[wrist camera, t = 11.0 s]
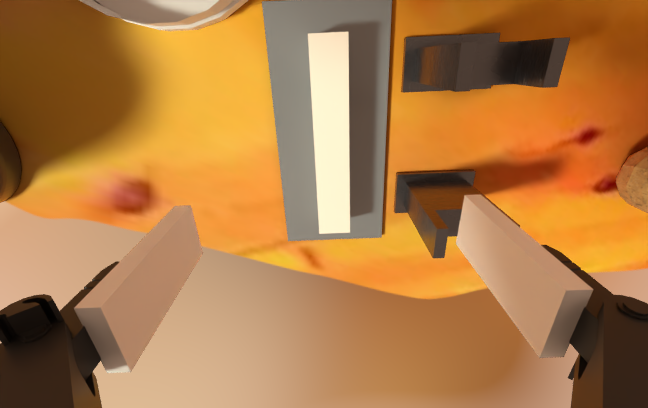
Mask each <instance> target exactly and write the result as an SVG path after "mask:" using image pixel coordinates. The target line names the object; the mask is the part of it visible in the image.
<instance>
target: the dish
mask: <svg viewBox="0 0 648 408" xmlns="http://www.w3.org/2000/svg"><path fill="white" fill-rule="evenodd" d="M79 1H81V2H83V3H85V4H87V5H89V6H91V7H92V8H94V9H96V10H98V11H100V12H102V13H104V14H106V15H108V16H112V17H116V18H120V19H123V20H125V21H127V22H130V23H134V24H138V25H142V26H146V27H150V28H154V29H158V30H165V31H182V30H198V29H201V28H204V27H206V26H209V25H211V24H214V23H217V22H219V21H222V20H224V19H226V18H227V17H229V16H230V15H231V14H232V13H234V12H235V11H236V10H237V9H238V8H240V7H241V6H242V5H243V4H245V3H246V2H247V1H248V0H79Z"/></svg>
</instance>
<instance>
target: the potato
mask: <svg viewBox="0 0 648 408" xmlns="http://www.w3.org/2000/svg"><path fill="white" fill-rule="evenodd" d="M616 185H617V188H618V191H619V194H620V196H621V197H622V198H623V199H624V200H625V201H626V202H627V203H628V204H630V205H632V206H634V207H636V208H638V209H640V210H642V211H644V212H646V213H648V147H646V148H644V149H642V150H640V151H638V152H636V153H634V154H632V155H630V156H629V157H628V159H627V160H626V162H625V163H624V164H623V166H622V167H621V169H620V171H619V173H618V175H617V177H616Z"/></svg>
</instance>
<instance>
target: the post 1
mask: <svg viewBox="0 0 648 408" xmlns="http://www.w3.org/2000/svg"><path fill="white" fill-rule="evenodd" d="M499 38H500V33H485V34H465V35H445V36H424V37H406V38H405V39H404V56H403V72H402V88H401V92H423V91H444V90H451V91H455V92H457V91H470V89H488V88H491V85H502V84H518V85H526V86H534V87H542V88H544V87H557V85H558V82H559V78H560V74H561V70H562V67H563V63H564V59H565V56H566V52H567V48H568V44H569V41H570V38H552V39H541V40H531V41H518V42H499Z"/></svg>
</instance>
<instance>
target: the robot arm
mask: <svg viewBox="0 0 648 408" xmlns="http://www.w3.org/2000/svg"><path fill="white" fill-rule="evenodd" d="M20 179H21V163H20V158H19V154H18V151H17V149H16V146H15V144H14V142H13V140H12V138H11V137H10V135H9V133H8V132H7V130H6V129H5V127H4V126H3V125H2V123H1V122H0V203H1V202H4V201H5V200H7V199H8V198H10V197H11V196H12V195H13V194H14V192H15V191H16V189H17V188H18V185H19V183H20ZM456 245H457V246H458V247H459V249H460V250H461V251H462V253H463V254H464V255H465V257H466V258H467V260H468V261H469V262H470V264H471V265H472V266H473V268H474V269H475V270H476V272H477V273H478V275H479V276H480V277H481V279H482V280H483V281H484V283H485V284H486V285H487V287H488V288H489V290H490V291H491V292H492V293H493V295H494V296H495V298H496V299H497V300H498V302H499V303H500V304H501V306H502V307H503V308H504V310H505V311H506V313H507V314H508V315H509V317H510V318H511V319H512V321H513V322H514V323H515V325H516V326H517V328H518V329H519V330H520V332H521V333H522V334H523V336H524V337H525V338H526V340H527V341H528V343H529V344H530V345H531V347H532V348H533V349H534V351H535V352H536V353H537V355H538V356H539V357H540V358H546V357H547V358H548V357H564V355H565V353H566V351H567V348H568V346H569V344H571V345H572V346H573V347H574V348H575V349H576V350H577V351H578V353H579V355H578V358H577V359H576V362H575V364H574V366H573V368H572V370H571V372H570V374H569V376H568V378H569V379H571V380H573V378H574V382H573V392H572V401H571V408H648V304H647V303H645V302H642V301H640V300H637V299H635V298H631V297H627V296H623V295H613V294H612V293H611V292H610V291H608V290H607V289H606V288H604V287H603V286H602V285H601V284H600V283H598V282H597V281H596V280H595V279H593V278H592V277H591V276H590V275H588V274H587V273H586V272H585V271H583V270H581V268H580V267H578V266H577V265H576V264H575V263H572V261H571V260H570V259H568V258H567V257H566V256H565V255H563V254H562V253H561V252H559V251H557V250H555V249H553V248H551V247H549V246H547V245H540V244H539V243H538V242H536V241H535V240H534V239H533V238H532V237H531V236H529V235H528V234H527V233H526V232H525V231H523V230H522V229H521V228H520V227H519V226H518V225H516V224H515V223H514V222H513V221H512V220H510V219H509V218H508V217H507V216H506V215H504V214H503V213H502V212H501V211H500V210H499V209H497V208H496V207H495V206H494V205H493V204H491V203H490V202H489V201H488V200H487V199H486V198H484V197H483V196H482V195H481V194H479V195H465V196H464V201H463V207H462V213H461V218H460V224H459V229H458V235H457V241H456ZM202 254H203V252H202V248H201V244H200V240H199V236H198V232H197V228H196V224H195V220H194V216H193V212H192V208H191V206H175V207H174V208H173V209H172V210H171V211H170V212H169V213H168V214H167V215H166V216H165V217H164V218H163V219H162V220H161V221H160V222H159V223H158V224H157V225H156V226H155V227H154V228H153V229H152V230H151V231H150V232H149V233H148V234H147V235H146V236H145V237H144V238H143V239H142V240H141V241H140V242H139V243H138V244H137V245H136V246H135V247H134V248H133V249H132V250H131V251H130V252H129V253H128V254H127V255H126V256H125V257H124V258H123V259H122V260H121V261H120V262H115V263H113V264H111V265H110V266H108V267H107V268H105V269H103V270H102V271H101V272H100V273H99V274H98V275H97V276H96V277H95V278H93V279H92V282H89V283H88V284H87V285H86V286H85V287H84V290H81V291H80V292H79V293H78V294H77V295H76V296H75V297H74V298H73V299H72V300H71V301H70V302H69V303H68V304H67V305H66V306H64V307H63V308H62V310H60V311H59V310H58V308H57V306H56V304H55V303H54V301H53V299H52V298H51V296H49V295H45V294H43V295H34V296H31V297H27V298H24V299H21V300H19V301H17V302H15V303H12V304H10V305H9V306H7V307H6V308H4V309H2V310H1V311H0V341H1V342H2V343H1V344H0V408H102V405H101V400H100V395H99V390H98V384H97V379H96V377H95V375H94V373H93V370H94V369H95V367H96V366H97V365H98V363H99V362H100V361H101V362H102V364H103V366H104V368H105V370H106V372H107V373H115V372H117V373H118V372H131V371H132V369H133V368H134V366H135V364H136V363H137V361H138V359H139V358H140V356H141V354H142V353H143V351H144V350H145V348H146V346H147V345H148V343H149V341H150V340H151V338H152V336H153V335H154V333H155V331H156V330H157V328H158V326H159V325H160V323H161V321H162V320H163V318H164V317H165V315H166V313H167V312H168V310H169V308H170V307H171V305H172V303H173V301H174V300H175V298H176V297H177V295H178V293H179V292H180V290H181V288H182V287H183V285H184V283H185V282H186V280H187V279H188V277H189V275H190V274H191V272H192V270H193V269H194V267H195V265H196V264H197V262H198V260H199V259H200V257H201V255H202Z"/></svg>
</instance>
